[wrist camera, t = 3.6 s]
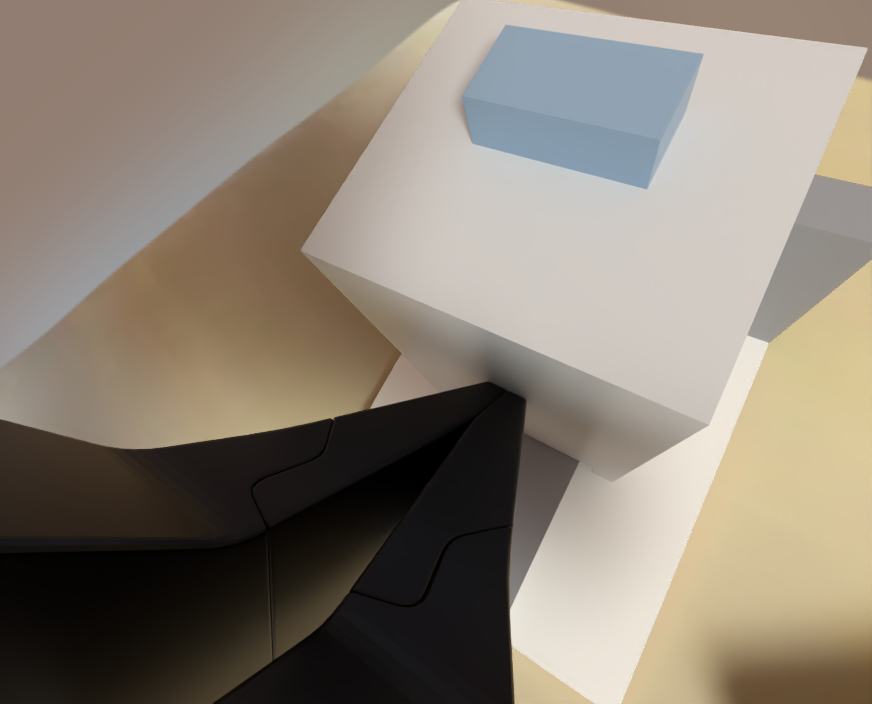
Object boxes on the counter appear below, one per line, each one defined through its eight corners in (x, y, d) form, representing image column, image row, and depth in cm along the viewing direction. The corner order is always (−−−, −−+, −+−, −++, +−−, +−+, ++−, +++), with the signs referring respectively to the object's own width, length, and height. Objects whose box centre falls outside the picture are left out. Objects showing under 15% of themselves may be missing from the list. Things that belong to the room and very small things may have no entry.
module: (611, 482, 13) (738, 407, 4) (444, 397, 15) (267, 216, 6) (680, 330, 14) (915, -25, 5) (514, 270, 16) (453, -61, 7)
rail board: (611, 705, 12) (655, 866, 7) (324, 508, 16) (198, 505, 10) (771, 318, 14) (906, 195, 9) (485, 223, 18) (453, 94, 12)
